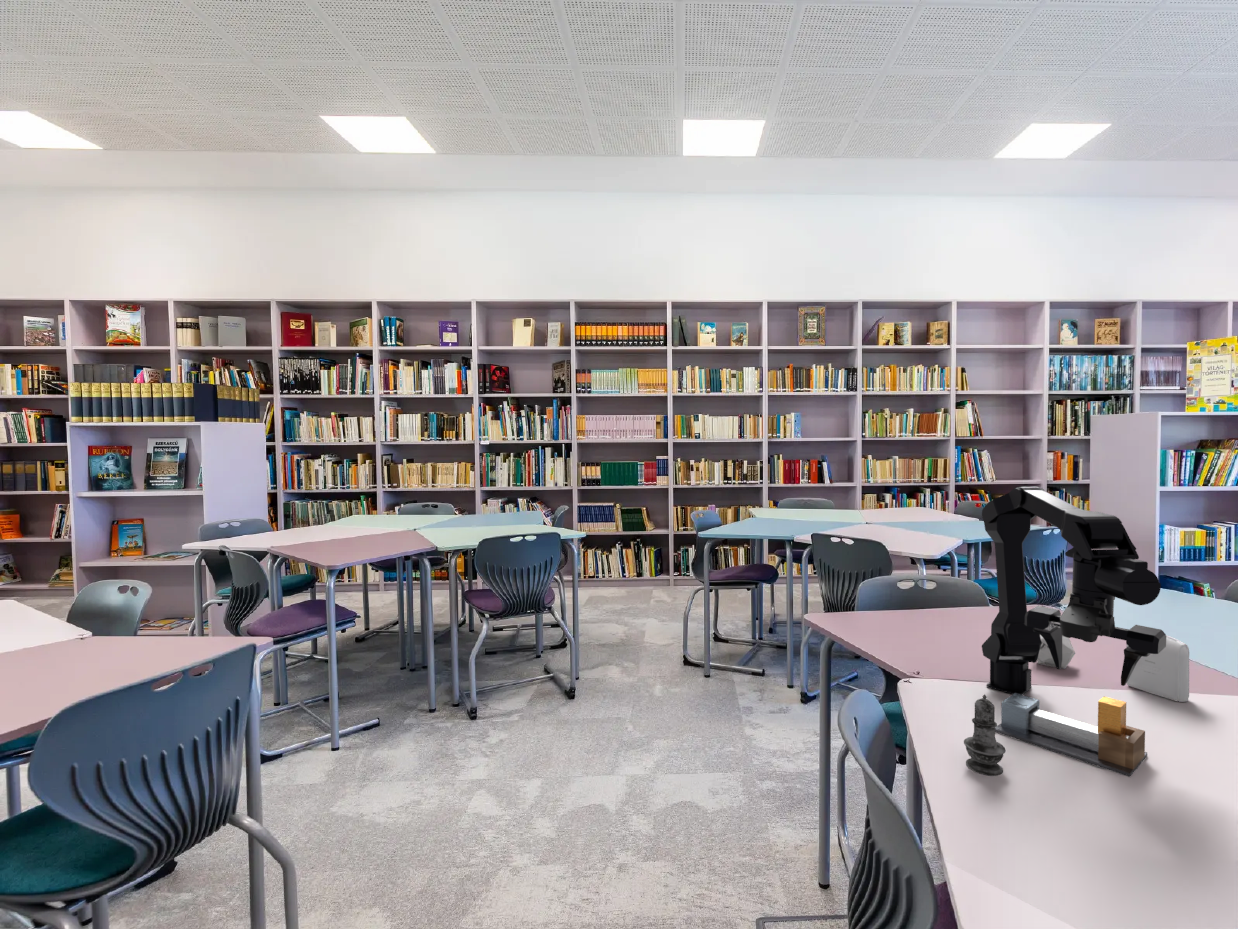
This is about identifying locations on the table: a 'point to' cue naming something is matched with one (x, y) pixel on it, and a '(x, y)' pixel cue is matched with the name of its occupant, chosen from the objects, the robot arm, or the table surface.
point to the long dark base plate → (1017, 727)
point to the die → (1046, 656)
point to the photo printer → (1164, 672)
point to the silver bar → (1082, 724)
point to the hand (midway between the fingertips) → (1089, 676)
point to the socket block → (1122, 747)
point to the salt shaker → (984, 741)
